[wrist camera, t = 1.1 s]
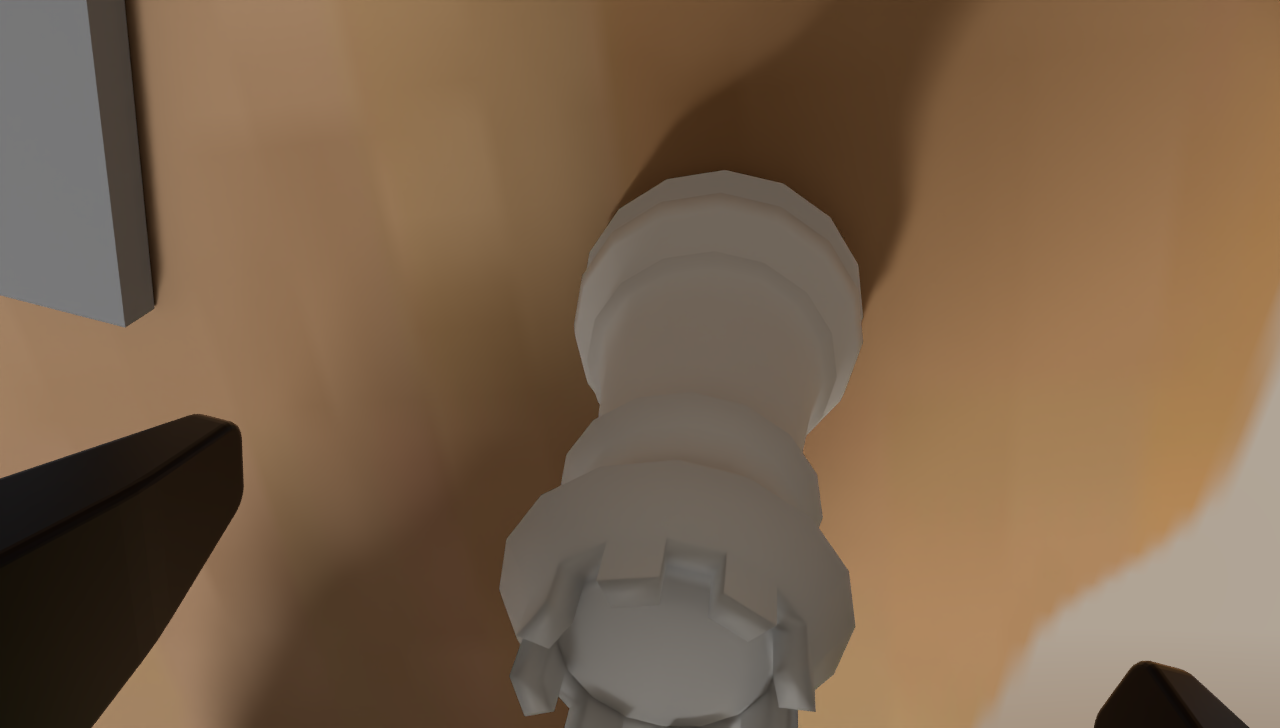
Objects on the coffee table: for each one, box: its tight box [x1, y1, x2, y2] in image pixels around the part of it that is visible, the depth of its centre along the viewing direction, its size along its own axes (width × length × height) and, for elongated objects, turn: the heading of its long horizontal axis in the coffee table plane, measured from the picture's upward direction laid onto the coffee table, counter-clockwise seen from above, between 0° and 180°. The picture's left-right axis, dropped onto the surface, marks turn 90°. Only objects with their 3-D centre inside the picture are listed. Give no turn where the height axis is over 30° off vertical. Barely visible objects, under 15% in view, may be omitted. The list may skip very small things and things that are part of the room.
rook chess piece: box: [499, 170, 863, 728], centre depth 10 cm, size 4×4×8 cm
